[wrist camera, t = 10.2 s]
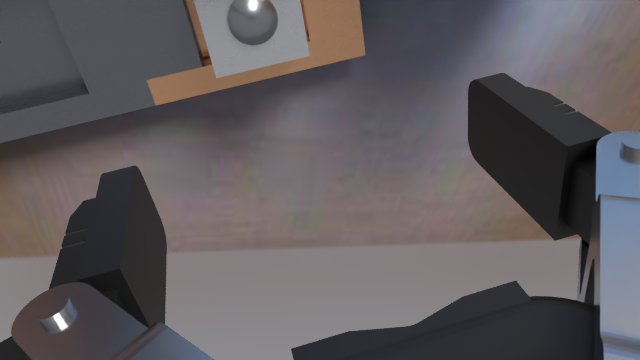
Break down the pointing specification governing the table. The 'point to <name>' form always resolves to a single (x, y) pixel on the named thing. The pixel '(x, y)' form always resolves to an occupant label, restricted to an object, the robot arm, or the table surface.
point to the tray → (131, 57)
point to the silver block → (252, 33)
